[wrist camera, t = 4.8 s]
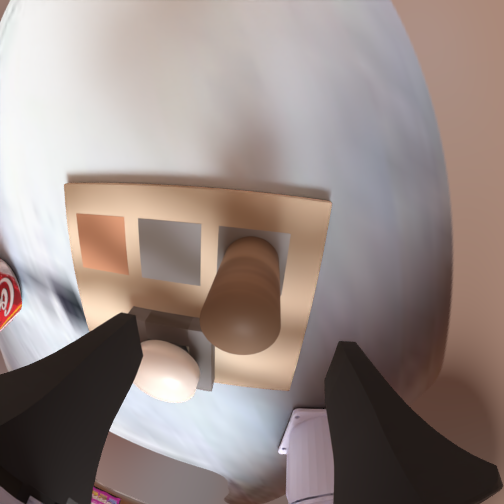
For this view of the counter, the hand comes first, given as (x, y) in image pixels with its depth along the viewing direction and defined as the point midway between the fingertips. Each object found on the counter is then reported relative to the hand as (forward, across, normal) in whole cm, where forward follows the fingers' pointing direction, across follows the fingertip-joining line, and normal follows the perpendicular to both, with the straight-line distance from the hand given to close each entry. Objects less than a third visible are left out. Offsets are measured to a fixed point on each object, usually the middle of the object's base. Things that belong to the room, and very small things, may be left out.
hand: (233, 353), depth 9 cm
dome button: (+7, +5, +8) cm, 12 cm away
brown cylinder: (+8, 0, 0) cm, 8 cm away
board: (+8, +4, +4) cm, 10 cm away
